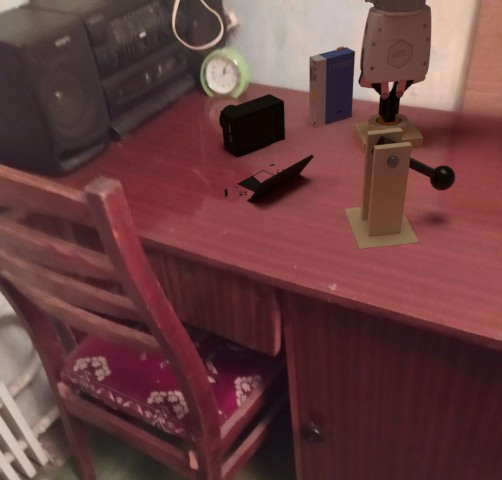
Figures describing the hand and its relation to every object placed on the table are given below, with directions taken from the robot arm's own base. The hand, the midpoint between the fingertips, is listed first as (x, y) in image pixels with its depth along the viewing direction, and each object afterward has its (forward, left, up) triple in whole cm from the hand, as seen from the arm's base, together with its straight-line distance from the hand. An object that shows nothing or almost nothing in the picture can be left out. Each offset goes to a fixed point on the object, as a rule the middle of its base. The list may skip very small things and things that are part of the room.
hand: (387, 118), depth 99 cm
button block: (0, 0, -4) cm, 4 cm away
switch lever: (+5, +27, +5) cm, 28 cm away
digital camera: (+23, -4, -4) cm, 23 cm away
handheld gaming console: (+22, +13, -4) cm, 26 cm away
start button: (0, 0, -2) cm, 2 cm away
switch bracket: (+8, +27, -4) cm, 28 cm away
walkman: (+8, -10, -4) cm, 13 cm away
